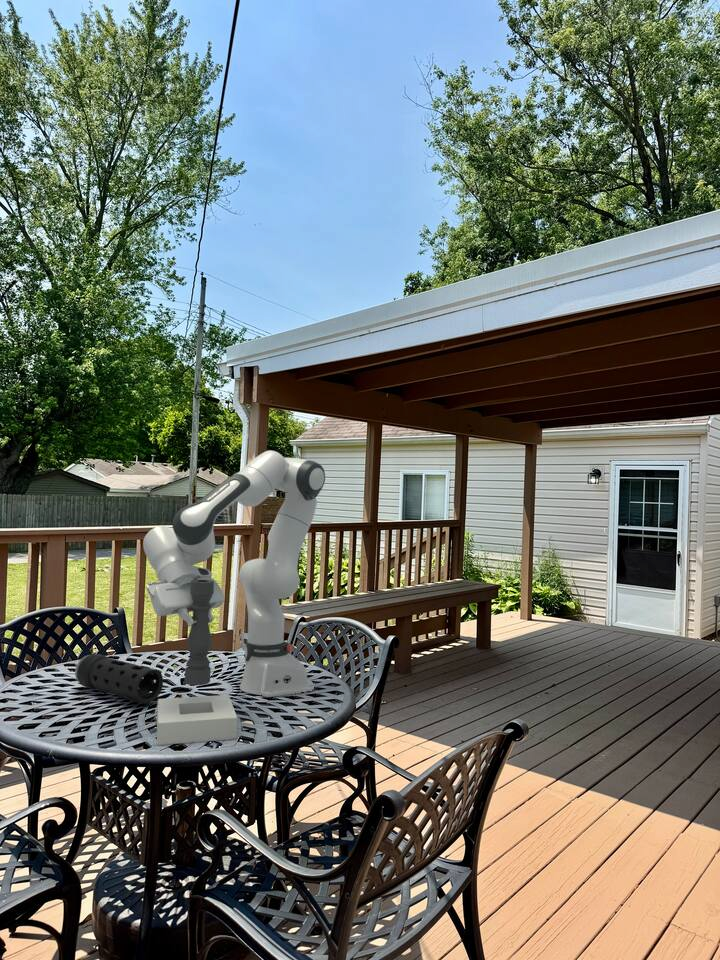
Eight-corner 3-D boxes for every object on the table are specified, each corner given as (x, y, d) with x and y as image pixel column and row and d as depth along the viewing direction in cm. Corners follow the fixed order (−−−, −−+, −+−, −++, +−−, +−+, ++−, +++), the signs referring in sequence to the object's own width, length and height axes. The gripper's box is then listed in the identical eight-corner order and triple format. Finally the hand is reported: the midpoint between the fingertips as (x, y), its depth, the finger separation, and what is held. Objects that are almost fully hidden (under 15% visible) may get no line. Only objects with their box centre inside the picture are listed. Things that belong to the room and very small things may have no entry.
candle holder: (184, 678, 155) (189, 579, 156) (209, 677, 157) (214, 579, 158) (184, 685, 149) (189, 582, 150) (210, 685, 151) (215, 582, 152)
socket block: (227, 713, 164) (228, 694, 164) (236, 738, 147) (237, 717, 147) (156, 718, 158) (158, 699, 158) (156, 745, 141) (158, 723, 141)
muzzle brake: (134, 711, 163) (136, 672, 164) (71, 691, 178) (73, 655, 178) (163, 702, 171) (165, 665, 172) (100, 684, 186) (102, 649, 186)
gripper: (150, 574, 150) (173, 620, 143) (214, 569, 166) (238, 610, 160) (138, 591, 152) (160, 637, 146) (202, 584, 169) (225, 625, 163)
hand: (201, 623), depth 153 cm, fingers closed on candle holder, 4 cm apart
